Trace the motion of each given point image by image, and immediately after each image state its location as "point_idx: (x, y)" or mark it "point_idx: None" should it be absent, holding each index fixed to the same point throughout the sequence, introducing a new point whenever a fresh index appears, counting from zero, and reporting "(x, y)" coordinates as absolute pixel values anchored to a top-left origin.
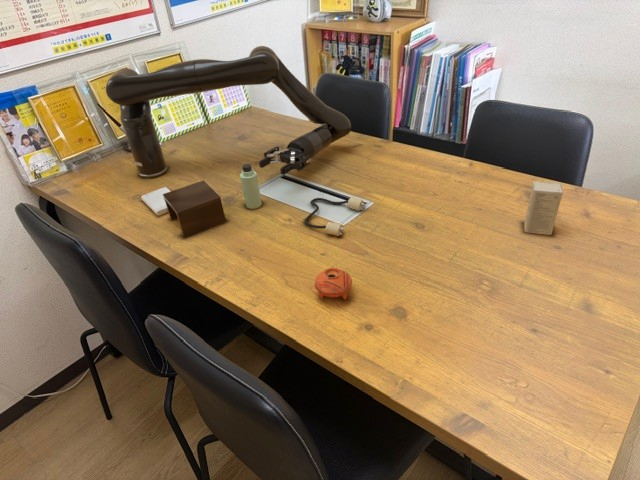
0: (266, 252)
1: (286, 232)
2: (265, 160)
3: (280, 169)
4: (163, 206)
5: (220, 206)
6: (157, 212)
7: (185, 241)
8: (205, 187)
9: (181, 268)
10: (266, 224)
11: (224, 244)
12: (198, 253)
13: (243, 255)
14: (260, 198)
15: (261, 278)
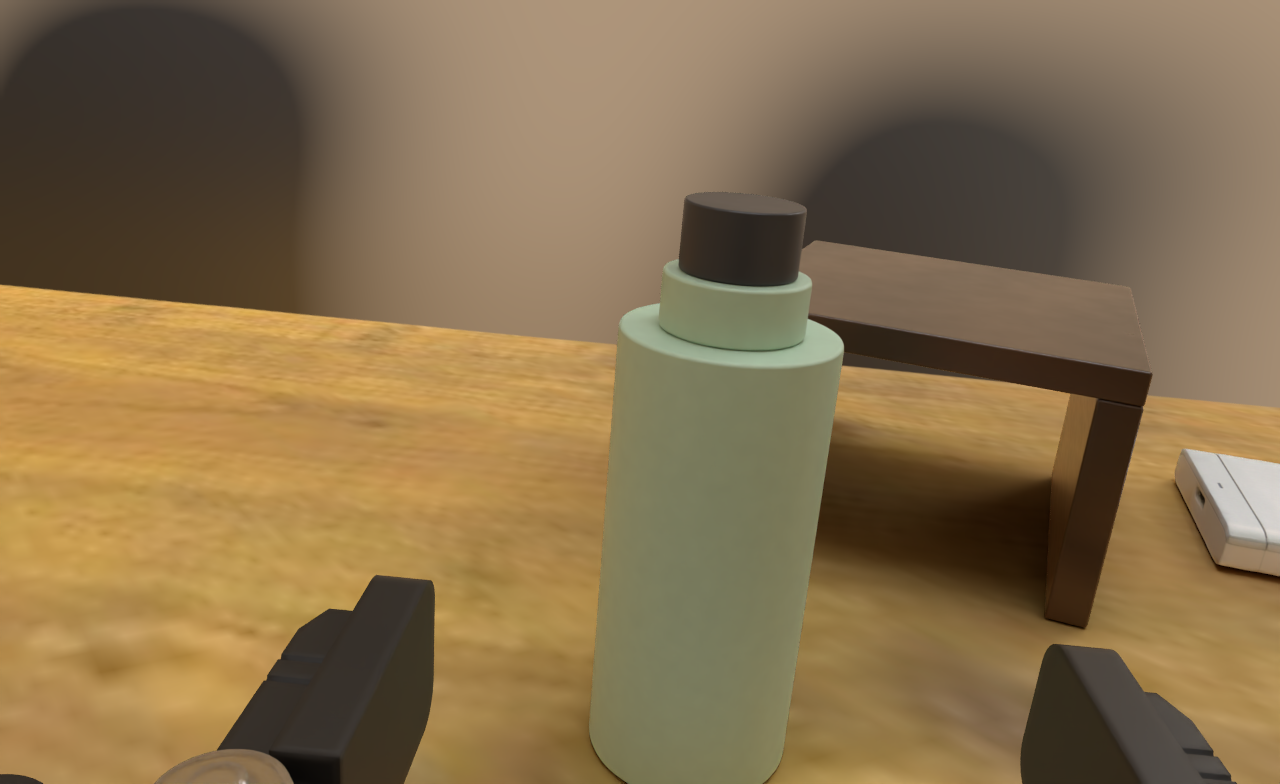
0: (195, 434)
1: (95, 555)
2: (1101, 768)
3: (431, 598)
4: (1235, 474)
5: None
6: (1181, 451)
7: None
8: (984, 332)
9: (591, 344)
10: (339, 578)
11: (517, 429)
12: (601, 386)
13: (337, 407)
14: (605, 681)
15: (150, 357)
